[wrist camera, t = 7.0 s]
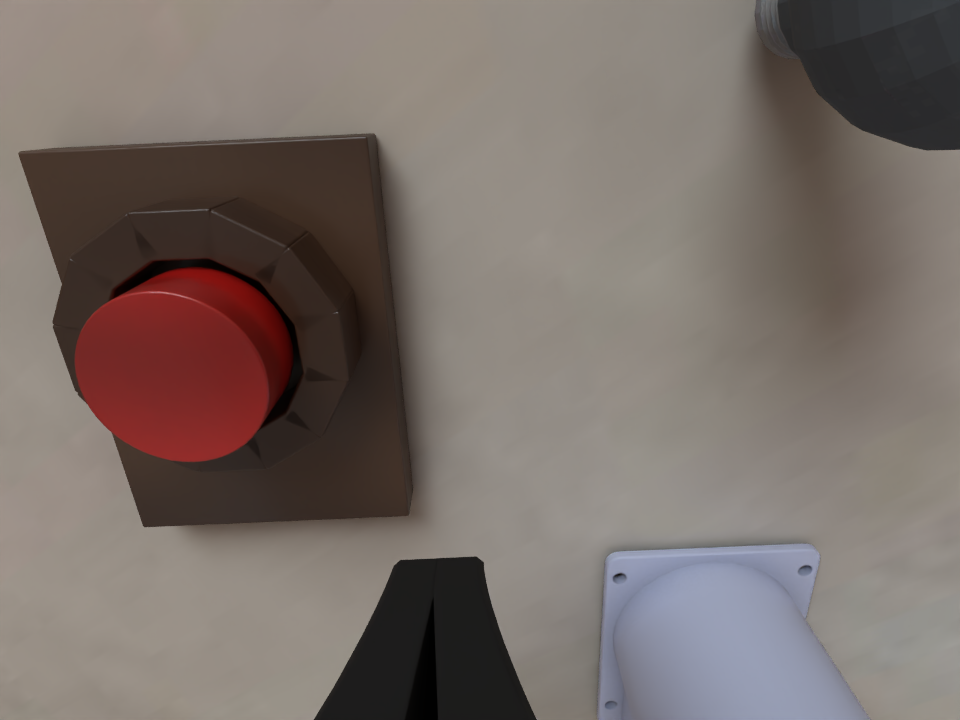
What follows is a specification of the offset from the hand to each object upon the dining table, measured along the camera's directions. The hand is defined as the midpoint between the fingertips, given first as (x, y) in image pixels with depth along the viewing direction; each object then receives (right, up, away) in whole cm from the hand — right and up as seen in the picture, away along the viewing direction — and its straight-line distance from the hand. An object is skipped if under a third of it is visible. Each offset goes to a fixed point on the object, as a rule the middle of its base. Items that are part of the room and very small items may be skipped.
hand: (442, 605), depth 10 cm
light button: (-7, +4, +6) cm, 10 cm away
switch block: (-7, +5, +9) cm, 12 cm away
